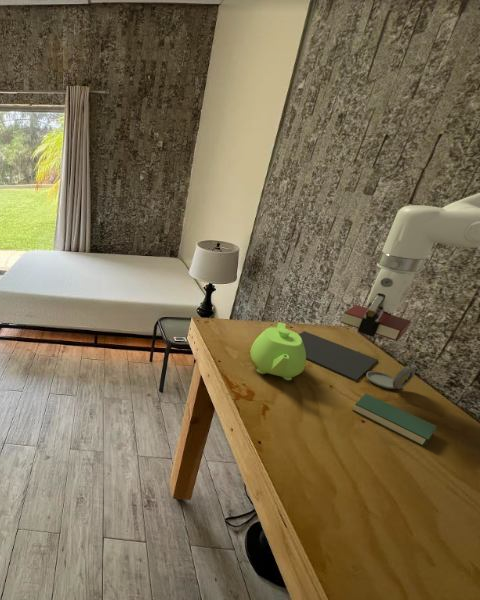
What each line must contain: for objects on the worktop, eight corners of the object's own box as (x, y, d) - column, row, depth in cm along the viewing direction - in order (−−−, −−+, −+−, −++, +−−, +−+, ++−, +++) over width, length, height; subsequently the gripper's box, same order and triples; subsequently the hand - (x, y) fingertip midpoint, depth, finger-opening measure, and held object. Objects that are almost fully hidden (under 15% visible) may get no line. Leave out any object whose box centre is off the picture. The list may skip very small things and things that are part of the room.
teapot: (304, 397, 80) (319, 356, 75) (246, 381, 86) (256, 342, 81) (298, 355, 96) (310, 319, 91) (249, 345, 102) (257, 310, 97)
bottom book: (432, 433, 69) (437, 426, 69) (424, 447, 66) (428, 439, 65) (362, 400, 79) (365, 393, 78) (352, 410, 76) (355, 403, 75)
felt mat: (377, 361, 93) (378, 359, 93) (355, 381, 85) (356, 379, 85) (303, 332, 108) (304, 330, 108) (279, 347, 100) (279, 345, 100)
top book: (406, 331, 77) (411, 320, 76) (396, 341, 73) (402, 330, 72) (351, 314, 85) (355, 304, 84) (340, 322, 82) (344, 312, 80)
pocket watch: (364, 371, 89) (378, 341, 85) (405, 382, 85) (421, 351, 80) (366, 387, 83) (381, 355, 79) (410, 400, 79) (428, 367, 74)
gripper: (411, 275, 65) (378, 347, 72) (433, 258, 74) (402, 324, 81) (366, 265, 71) (339, 333, 78) (391, 251, 79) (365, 313, 87)
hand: (371, 328), depth 80 cm, fingers closed on top book, 7 cm apart
